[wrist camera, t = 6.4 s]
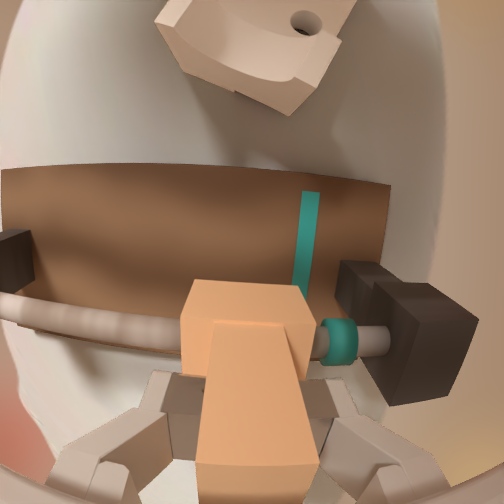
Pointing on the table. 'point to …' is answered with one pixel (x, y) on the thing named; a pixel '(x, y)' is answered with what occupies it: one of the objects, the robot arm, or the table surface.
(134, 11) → the table surface
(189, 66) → the bracket
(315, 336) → the linear slide rail
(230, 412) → the orange l-shaped block
